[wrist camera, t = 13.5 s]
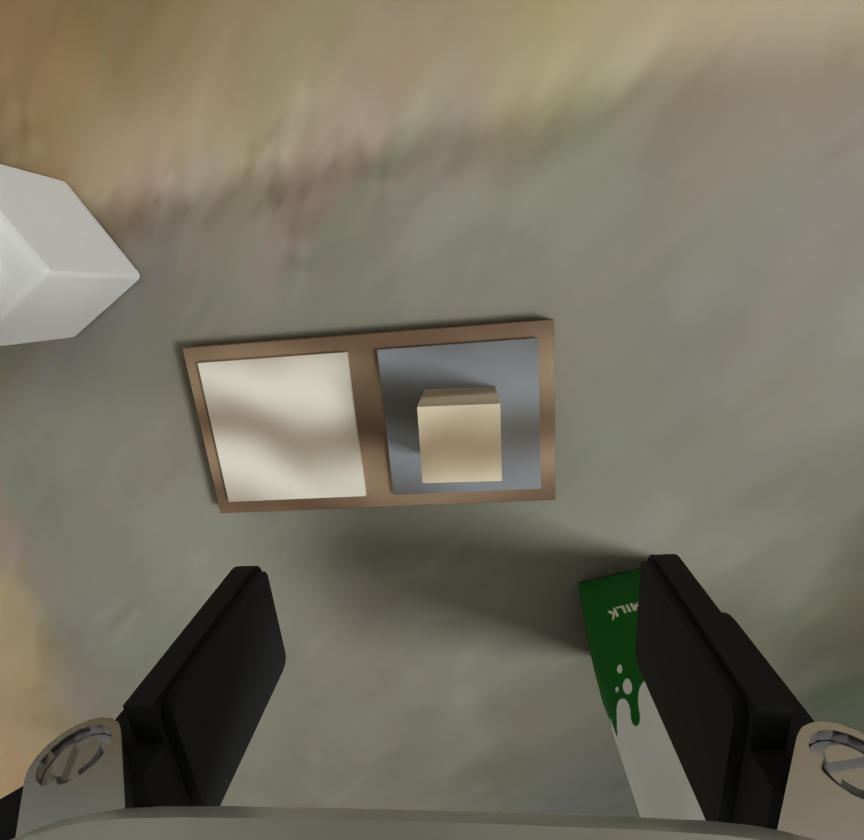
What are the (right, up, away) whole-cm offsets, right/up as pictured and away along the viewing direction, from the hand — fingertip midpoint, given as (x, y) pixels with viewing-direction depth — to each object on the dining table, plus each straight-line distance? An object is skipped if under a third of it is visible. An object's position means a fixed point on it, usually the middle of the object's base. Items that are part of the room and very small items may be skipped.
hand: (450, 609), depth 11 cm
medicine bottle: (-24, +15, +19) cm, 34 cm away
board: (-4, +5, +20) cm, 21 cm away
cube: (+1, +5, +18) cm, 19 cm away
